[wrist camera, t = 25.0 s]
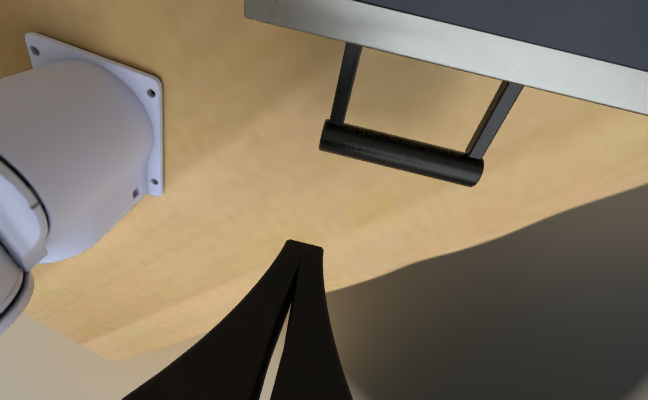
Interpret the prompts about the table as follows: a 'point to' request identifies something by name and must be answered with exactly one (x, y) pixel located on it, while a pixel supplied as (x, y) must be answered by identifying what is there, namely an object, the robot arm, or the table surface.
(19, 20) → the table surface
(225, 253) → the table surface
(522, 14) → the black drawer unit
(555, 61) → the dish drawer
